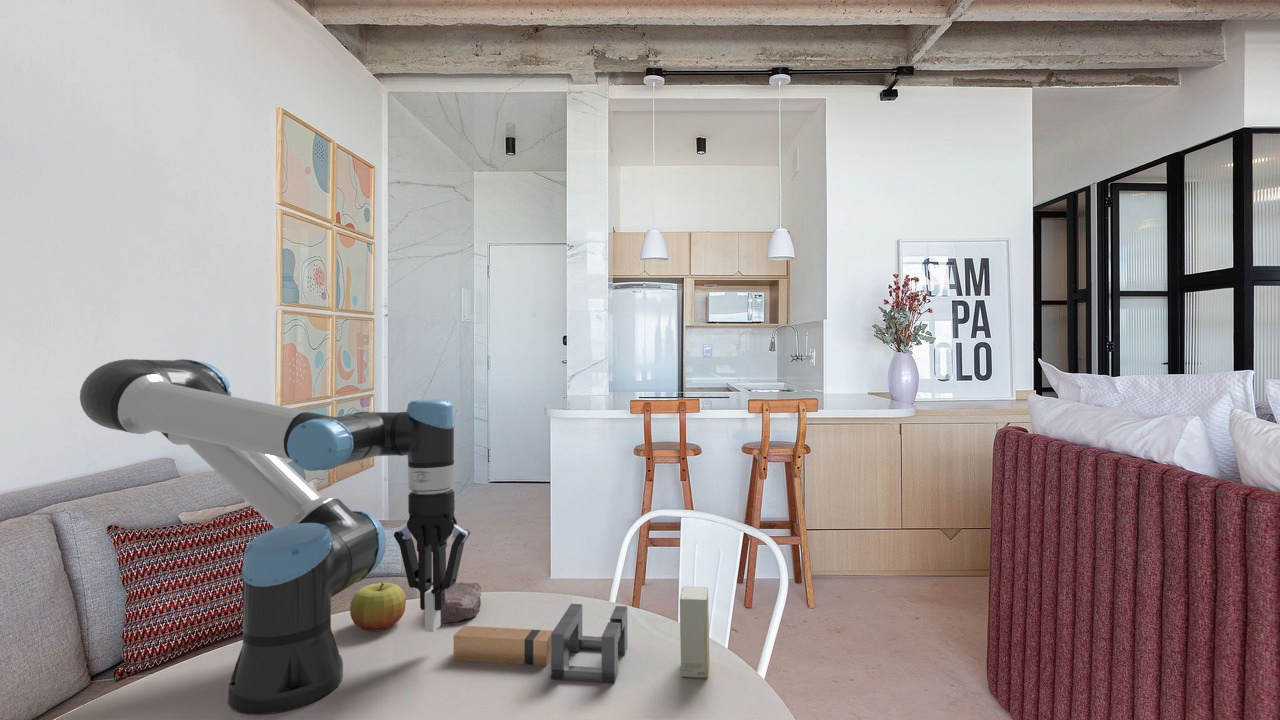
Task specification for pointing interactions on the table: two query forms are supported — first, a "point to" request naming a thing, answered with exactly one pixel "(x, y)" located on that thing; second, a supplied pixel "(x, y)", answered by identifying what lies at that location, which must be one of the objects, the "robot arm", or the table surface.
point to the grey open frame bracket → (588, 646)
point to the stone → (461, 602)
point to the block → (503, 645)
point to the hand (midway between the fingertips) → (432, 628)
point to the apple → (377, 606)
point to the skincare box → (694, 632)
